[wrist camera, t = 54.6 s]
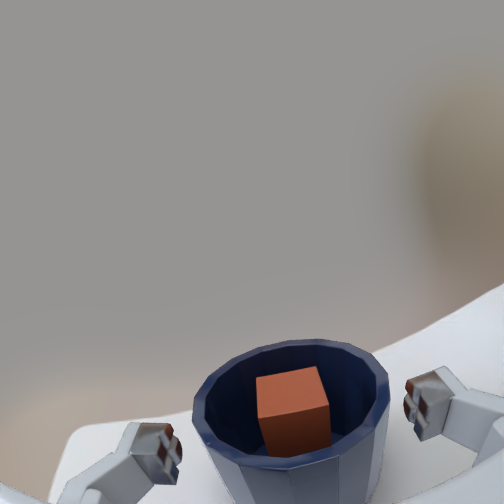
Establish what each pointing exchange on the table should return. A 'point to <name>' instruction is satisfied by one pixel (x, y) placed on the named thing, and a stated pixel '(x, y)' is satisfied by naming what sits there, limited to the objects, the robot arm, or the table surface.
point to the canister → (306, 465)
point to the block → (293, 413)
